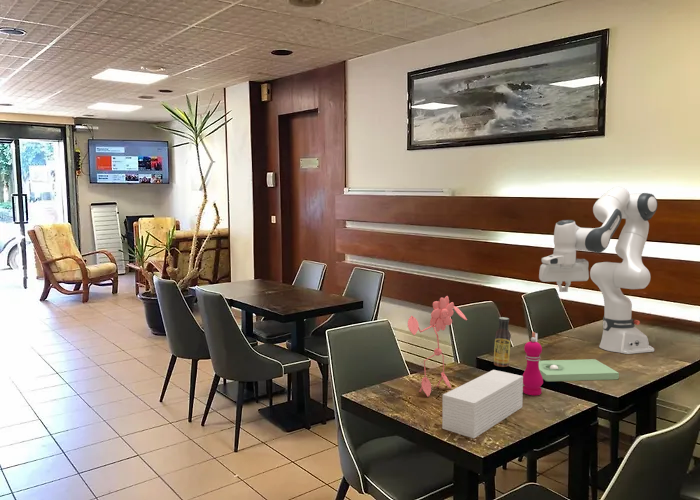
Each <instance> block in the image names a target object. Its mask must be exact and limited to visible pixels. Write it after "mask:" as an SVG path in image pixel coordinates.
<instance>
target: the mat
mask: <svg viewBox="0 0 700 500" xmlns="http://www.w3.org/2000/svg"><path fill="white" fill-rule="evenodd" d="M532 337H534V338H536V341H535V342H538V332H537V333H536V332H534V331H531V338H532ZM551 365H557V366H558V368H559V369H549V368H550V366H551ZM539 370H540V373H541V375H542V378H543V381H545V382H570V381H571V382H573V381H579V382H580V381H605V380H607V381H608V380H611V381H612V380H619V377H620V373H619V372H618V371H616V370H615V369H613V368H612V367H609V366H608V365H606V364H605V363H603V362H601V361H599V360H597V359H596V358H591V359H589V358H585V359H553V360H552V359H550V360H539Z"/></svg>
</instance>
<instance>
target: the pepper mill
mask: <svg viewBox="0 0 700 500" xmlns="http://www.w3.org/2000/svg"><path fill="white" fill-rule="evenodd" d="M535 341H536V338H534V337H532V336H531V338H530V341H528V342H526V343H525V344H524V346H523V350H524V352H525V355H524V356H525V360H526V366H525V369H524V372H523V374H522V376H523V387H522V388H523V390H522V391H523V393H524V394H525V395H529V396H540V395H541V394H542V385H543V384H544V379H543V378H542V375H541V373H540V370H539V361H541V354H542V352H543V347H542V345H541V343H540V342H538V341H537V342H535Z"/></svg>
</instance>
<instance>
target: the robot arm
mask: <svg viewBox="0 0 700 500" xmlns="http://www.w3.org/2000/svg"><path fill="white" fill-rule="evenodd" d="M657 209H658V200H657V198H656V196H655V195H654V194H652V193H648V192H643V193H629V191H628V190H627V188H625V187H622V186H615V187H612V188H611V189H609V190H607V191H606V192H605V193H603V195H602V194H601V196H600V197H599V198H598V199H597V200H596V201H595V203H594V204H593V207H592V212H593V215H594V217H595V219H597V220H598V222H600V223H602V225H601V226H600V227H595V228H594V227H593V228H592V227H580V226H578V225H577V224H576V221H575V220H574V219H562V220H559V221H558V222H556V223H555V225H554V231H553V243H554V248H553V253H552V254H550V255H548V256H544V257H541V263H542V264H540V266H539V272H538V273H539V274H538V279H539V280H540V281H541V282H546V283H547V282H549V283H550V282H553V283H554V282H556V285H557V287H558V288H559V289H558V290H559V291H558V292H560V293H568V292H569V288H570V286H571V284H572V283H571V282H587V281H588V280H589V278H590V279H591V281H592V282H593V283H594V284H595V285H596V286H597V287H598V288H599V291H600V292H601V294H602V298H603V303H604V304H603V306H604V315H603V317H602V329H603V331H602V336H601V341H600V343H599V348H600V349H602V350H605V351H608V352H612V353H613V352H614V353H621V354H626V355H632V354H643V353H651V352H655V348H654V347H652V346H651V345H650V343H649V338H648V336H647V335H646V334H645V333H644V332H642V331H641V330H640V329H639V328H638V327H636V326H635V325H637V326H639V325H640V324H641V321H640V320H638V319H633V318H632V311H633V308H632V307H633V304H632V301H631V299H630V298H629V297H628V296H625V294H624V293H623V291H622V289H625V290H626V289H629V290H642V289H646V287H648V285H649V284H650V282H651V278H652V277H651V272H650V271H649V269H648V268H647V267H646V266H645V265H644V263H643V259H642V256H643V251H644V249H645V245H646V242H647V239H648V234H649V229H650V223H649V220H651V219H652V218H653V216H654V215H655V214H656V211H657ZM623 219H624V220H625V223H624V225H623V227H622V229H621V232H620V234H619V237H618V240H617V242H616V246H615V247H614V248H615V253H616V255H617V256H618V257H619V258H621V259H622V262H611V261H603V262H596V263H594V264H593V265H592V267H590V271H589V261H588V260H587V259H586V258H577V251H582V252H591V253H597V254H599V253H602V252H604V251H605V250H606V249H607V248H608V246H609V244H610V241H611V239H612V237H613V236H614V234H615V232H616V231H617V229H618V228H619V225H620V224H621V222H622V220H623ZM563 282H564V283H565V286H562V284H563Z"/></svg>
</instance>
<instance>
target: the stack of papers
mask: <svg viewBox="0 0 700 500" xmlns="http://www.w3.org/2000/svg"><path fill="white" fill-rule="evenodd" d="M523 386H524V384H523V375H519V374H514V373H511V372H506V371H501V370H496V369H492V370H490V371H488V372H486V373H484V374H482V375H480V376H478V377H475V378H474V379H472V380H470V381H468V382H465V383H463V384H462V385H459V386H457V387H455V388H454V389H453V388H452V389H451V390H450V391H448V392H445V393H444V394H442V410H441V411H442V412H441V413H442V415H441V416H442V420H441V421H442V423H441V424H442V426H441V428H442V429H443V430H446V431H449V432H453V433H454V434H459V435H461V436H465V437H467V438H471V439H475V438H477V437H478V436H480V435H481V434H483V433H484V432H485V433H486V431H488V430H489V429H491V428H493V427H494V426H495V425H497V424H499V423H501V422H502V421H503V420H505V419H506V418H508V417H510V416H511V415H513V414H514V413H515V412H518V410H520V409H522V408H523V402H524V401H523V399H524V398H523V397H524V395H523V393H524V392H523Z"/></svg>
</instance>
